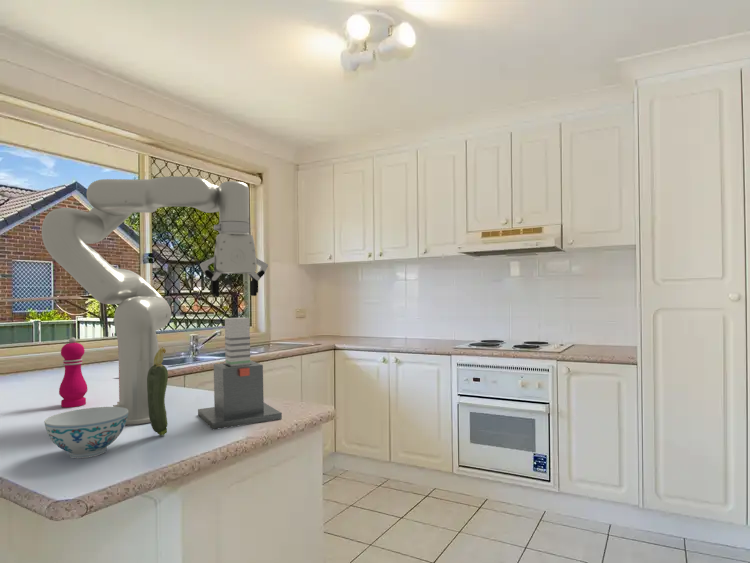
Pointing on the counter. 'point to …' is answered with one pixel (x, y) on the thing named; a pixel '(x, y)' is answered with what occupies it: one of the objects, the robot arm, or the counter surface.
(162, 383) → the vegetable
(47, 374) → the counter surface
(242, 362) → the column
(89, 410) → the chinaware
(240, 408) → the stand base
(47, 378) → the counter surface
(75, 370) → the pepper mill
